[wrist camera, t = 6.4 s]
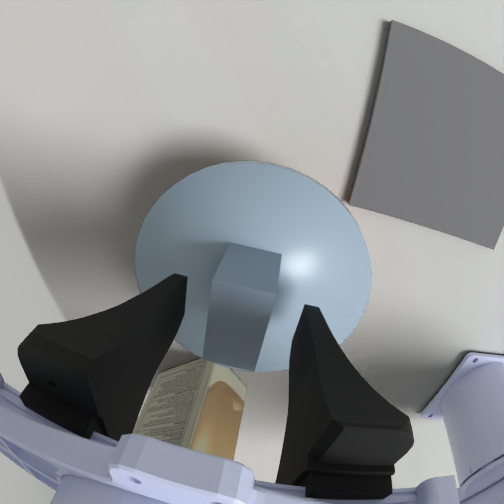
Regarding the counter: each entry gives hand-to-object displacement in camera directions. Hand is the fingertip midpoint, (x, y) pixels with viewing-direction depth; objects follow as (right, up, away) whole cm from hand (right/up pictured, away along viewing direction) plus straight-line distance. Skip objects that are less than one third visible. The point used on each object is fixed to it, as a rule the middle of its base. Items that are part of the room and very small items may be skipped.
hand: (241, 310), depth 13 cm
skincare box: (-3, -7, +11) cm, 13 cm away
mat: (+11, +8, 0) cm, 14 cm away
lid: (0, +1, +2) cm, 2 cm away
